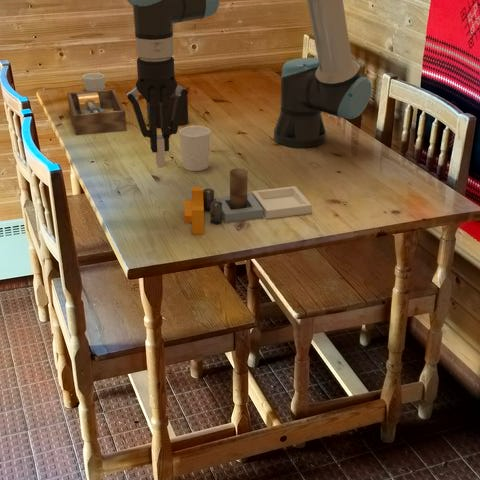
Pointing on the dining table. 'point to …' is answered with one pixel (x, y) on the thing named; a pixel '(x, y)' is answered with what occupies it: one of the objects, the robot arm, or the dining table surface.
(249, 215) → the jig block
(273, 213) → the tray
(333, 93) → the robot arm
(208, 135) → the white cup
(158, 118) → the coffee grinder
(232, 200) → the dowel
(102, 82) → the teacup
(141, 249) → the dining table surface
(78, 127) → the tool caddy
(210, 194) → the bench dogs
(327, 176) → the dining table surface
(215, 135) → the dining table surface
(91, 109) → the vise
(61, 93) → the dining table surface
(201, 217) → the pipe clamp
